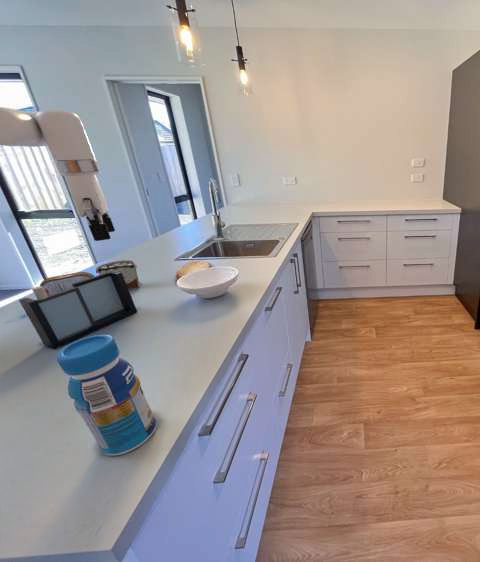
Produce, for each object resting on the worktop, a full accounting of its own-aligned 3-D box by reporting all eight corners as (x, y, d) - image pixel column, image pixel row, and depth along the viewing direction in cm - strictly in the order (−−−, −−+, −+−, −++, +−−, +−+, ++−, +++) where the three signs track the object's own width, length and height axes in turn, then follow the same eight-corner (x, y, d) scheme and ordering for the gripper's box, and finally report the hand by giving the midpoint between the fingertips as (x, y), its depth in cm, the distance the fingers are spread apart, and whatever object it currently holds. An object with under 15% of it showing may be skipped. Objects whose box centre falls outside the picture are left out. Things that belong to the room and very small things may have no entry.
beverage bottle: (87, 454, 51) (30, 361, 43) (131, 414, 59) (89, 328, 51) (130, 461, 50) (79, 366, 42) (169, 419, 58) (133, 332, 49)
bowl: (168, 303, 102) (162, 284, 99) (212, 280, 119) (208, 264, 116) (214, 310, 97) (209, 291, 94) (253, 285, 114) (250, 269, 111)
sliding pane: (58, 340, 80) (31, 290, 74) (55, 338, 81) (27, 289, 75) (96, 324, 87) (74, 277, 81) (92, 322, 88) (70, 276, 82)
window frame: (54, 349, 79) (28, 303, 73) (44, 345, 81) (18, 299, 75) (137, 312, 97) (121, 272, 91) (127, 309, 99) (111, 270, 93)
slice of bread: (198, 263, 138) (196, 255, 136) (226, 269, 131) (224, 260, 129) (159, 277, 123) (156, 269, 122) (187, 284, 116) (184, 275, 114)
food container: (148, 281, 120) (140, 257, 116) (144, 287, 115) (135, 263, 110) (111, 286, 116) (101, 262, 112) (104, 293, 111) (93, 268, 106)
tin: (101, 289, 114) (92, 268, 111) (101, 291, 112) (92, 271, 108) (46, 301, 105) (34, 279, 102) (45, 304, 103) (33, 282, 100)
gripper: (66, 167, 78) (93, 231, 85) (47, 170, 65) (80, 246, 72) (103, 166, 82) (125, 227, 89) (92, 168, 69) (119, 240, 76)
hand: (105, 235), depth 81 cm, fingers open, 9 cm apart
